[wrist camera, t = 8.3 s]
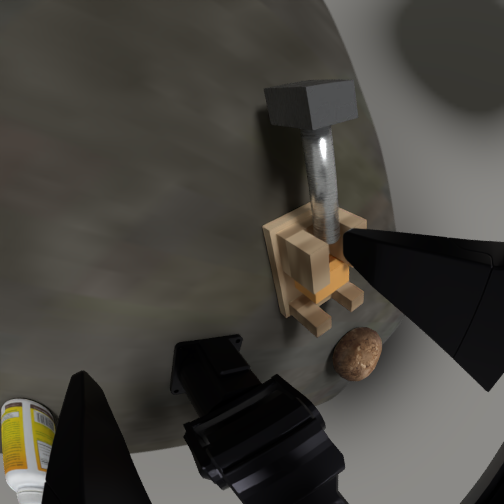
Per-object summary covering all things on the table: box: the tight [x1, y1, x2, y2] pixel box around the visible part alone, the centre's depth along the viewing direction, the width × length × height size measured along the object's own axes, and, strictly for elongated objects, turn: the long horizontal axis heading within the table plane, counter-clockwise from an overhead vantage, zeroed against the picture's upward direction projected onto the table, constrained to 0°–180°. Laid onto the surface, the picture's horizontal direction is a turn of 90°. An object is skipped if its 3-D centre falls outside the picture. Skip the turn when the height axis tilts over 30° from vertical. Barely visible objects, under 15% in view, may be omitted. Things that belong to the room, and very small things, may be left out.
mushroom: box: [332, 327, 382, 381], centre depth 39 cm, size 8×8×6 cm
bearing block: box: [262, 202, 367, 338], centre depth 25 cm, size 10×7×5 cm
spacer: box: [294, 254, 349, 304], centre depth 25 cm, size 2×4×3 cm, turn 105°
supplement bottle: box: [1, 398, 56, 504], centre depth 14 cm, size 6×6×10 cm
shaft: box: [264, 80, 358, 244], centre depth 19 cm, size 12×4×4 cm, turn 14°
